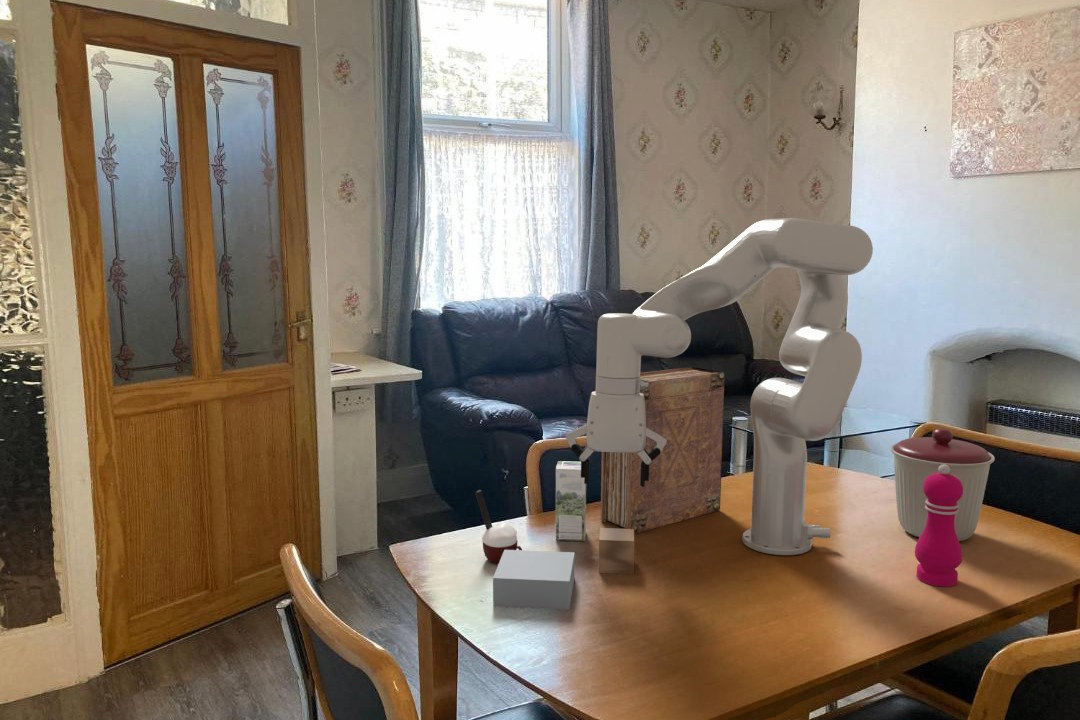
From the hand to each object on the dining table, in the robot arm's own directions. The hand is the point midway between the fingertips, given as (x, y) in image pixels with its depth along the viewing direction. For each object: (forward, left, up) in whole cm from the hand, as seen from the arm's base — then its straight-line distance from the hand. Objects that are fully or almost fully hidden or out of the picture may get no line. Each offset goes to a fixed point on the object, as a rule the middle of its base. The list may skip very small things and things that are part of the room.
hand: (614, 483), depth 141 cm
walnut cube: (-1, 0, -15) cm, 15 cm away
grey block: (+12, +12, -16) cm, 23 cm away
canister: (-63, -23, -15) cm, 68 cm away
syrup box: (+8, -14, -15) cm, 23 cm away
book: (-10, -28, -15) cm, 34 cm away
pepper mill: (-55, 0, -15) cm, 57 cm away
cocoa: (+20, -1, -15) cm, 26 cm away
